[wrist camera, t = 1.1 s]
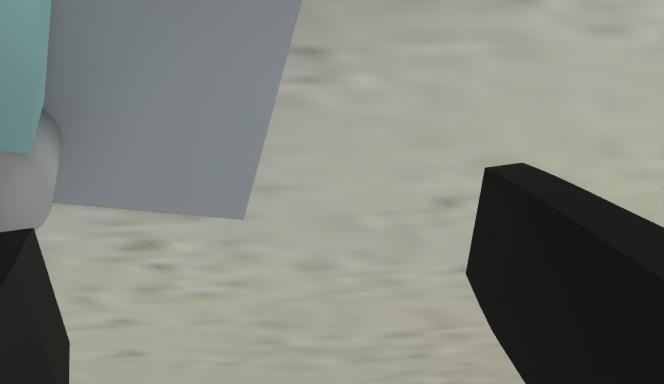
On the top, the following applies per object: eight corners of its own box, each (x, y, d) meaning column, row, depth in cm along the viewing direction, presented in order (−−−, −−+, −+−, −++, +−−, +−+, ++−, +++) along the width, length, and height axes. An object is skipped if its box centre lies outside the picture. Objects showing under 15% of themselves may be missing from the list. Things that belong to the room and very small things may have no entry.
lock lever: (58, 184, 17) (47, 245, 14) (-44, 174, 16) (-71, 237, 14) (89, -150, 13) (79, -135, 11) (-45, -188, 12) (-84, -181, 10)
